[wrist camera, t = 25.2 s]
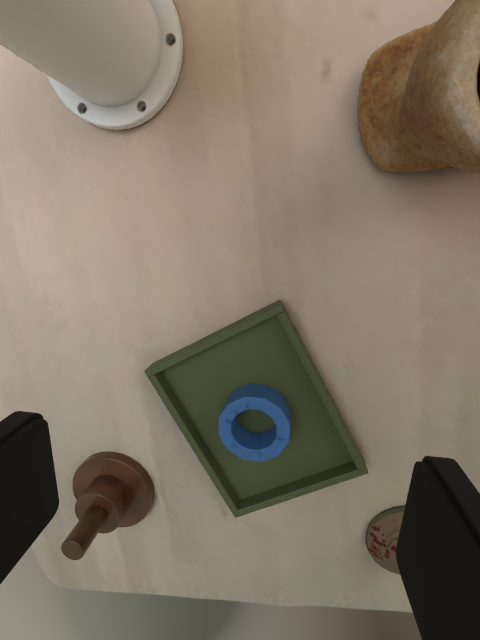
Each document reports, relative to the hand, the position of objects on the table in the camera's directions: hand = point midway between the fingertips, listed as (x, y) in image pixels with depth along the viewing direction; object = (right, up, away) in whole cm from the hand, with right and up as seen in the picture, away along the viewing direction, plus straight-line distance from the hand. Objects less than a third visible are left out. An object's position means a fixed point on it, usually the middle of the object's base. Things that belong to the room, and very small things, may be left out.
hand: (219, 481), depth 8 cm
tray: (+2, -6, +27) cm, 28 cm away
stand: (-15, -17, +33) cm, 40 cm away
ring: (+2, -6, +27) cm, 28 cm away
